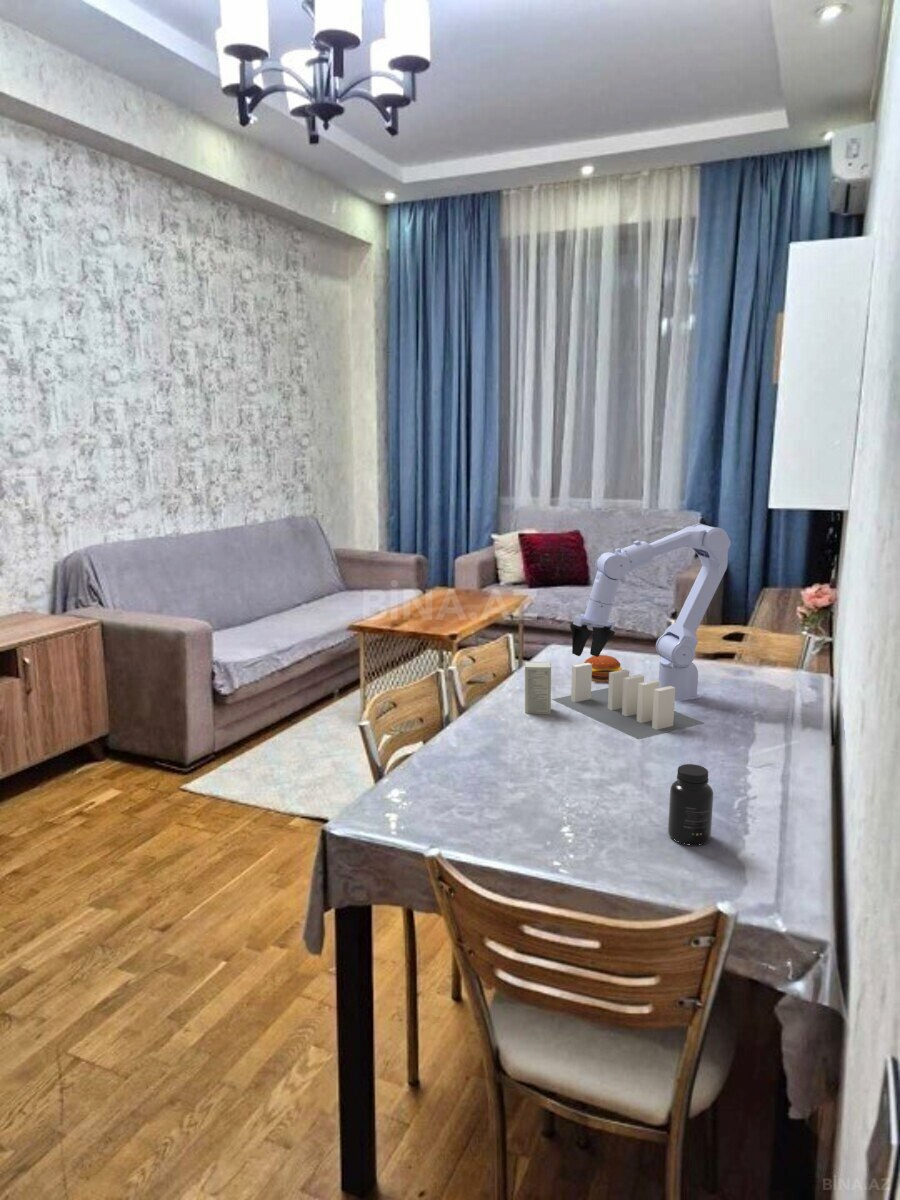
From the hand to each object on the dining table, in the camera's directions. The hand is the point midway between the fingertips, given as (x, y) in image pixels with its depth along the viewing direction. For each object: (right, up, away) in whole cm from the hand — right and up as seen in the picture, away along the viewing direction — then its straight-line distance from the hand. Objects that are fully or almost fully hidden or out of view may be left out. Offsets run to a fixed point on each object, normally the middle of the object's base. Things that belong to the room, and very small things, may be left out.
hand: (585, 655), depth 199 cm
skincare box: (-12, -14, -4) cm, 19 cm away
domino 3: (+10, -13, -6) cm, 18 cm away
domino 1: (0, -11, +4) cm, 12 cm away
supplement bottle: (+7, -26, -63) cm, 69 cm away
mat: (+9, -13, -4) cm, 17 cm away
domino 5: (+15, -15, -15) cm, 26 cm away
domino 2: (+8, -12, -2) cm, 15 cm away
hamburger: (+8, -8, +22) cm, 25 cm away
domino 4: (+13, -14, -10) cm, 22 cm away
